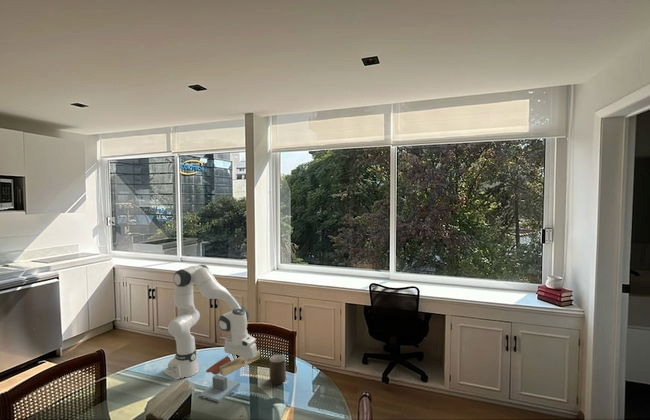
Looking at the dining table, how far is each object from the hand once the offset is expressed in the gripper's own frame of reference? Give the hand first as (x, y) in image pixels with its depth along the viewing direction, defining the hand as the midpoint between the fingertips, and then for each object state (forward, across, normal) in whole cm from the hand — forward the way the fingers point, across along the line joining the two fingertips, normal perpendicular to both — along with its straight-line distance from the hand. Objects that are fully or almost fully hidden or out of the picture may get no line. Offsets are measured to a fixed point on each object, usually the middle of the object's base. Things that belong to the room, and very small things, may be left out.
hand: (240, 362), depth 190 cm
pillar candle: (+20, +10, +22) cm, 32 cm away
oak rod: (+2, 0, 0) cm, 2 cm away
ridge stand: (+20, -16, 0) cm, 26 cm away
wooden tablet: (+21, -34, +26) cm, 48 cm away
